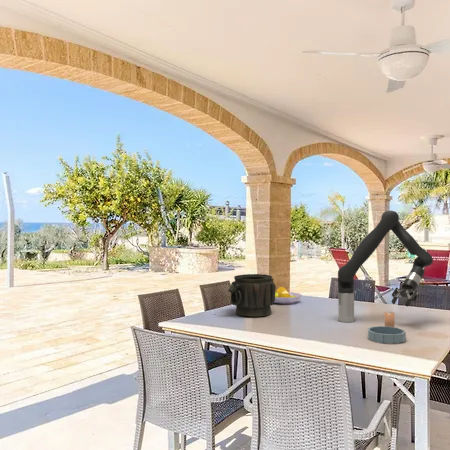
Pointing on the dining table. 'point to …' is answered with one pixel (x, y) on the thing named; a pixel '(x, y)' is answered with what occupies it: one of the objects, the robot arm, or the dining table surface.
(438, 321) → the dining table surface
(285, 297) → the fruit bowl
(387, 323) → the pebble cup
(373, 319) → the dining table surface
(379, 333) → the bowl
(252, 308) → the vessel
